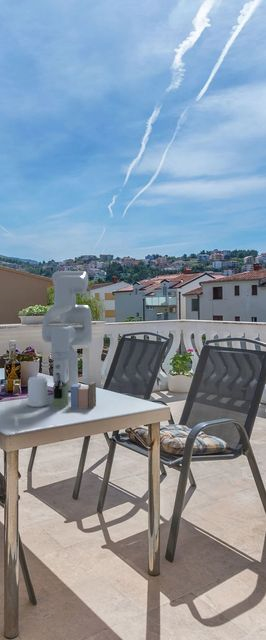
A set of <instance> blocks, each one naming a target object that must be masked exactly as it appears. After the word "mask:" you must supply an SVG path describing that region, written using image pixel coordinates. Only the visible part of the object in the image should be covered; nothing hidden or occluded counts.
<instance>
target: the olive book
mask: <svg viewBox="0 0 266 640" xmlns="http://www.w3.org/2000/svg"><path fill="white" fill-rule="evenodd" d="M59 386H60V384H59ZM61 389H62V398H61V399H55V398H54V385H53V386H52V407H53V409H55V408H56V409H65V408H66V407H68V405H69V391H68V384H62V386H61Z"/></svg>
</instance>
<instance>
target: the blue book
mask: <svg viewBox="0 0 266 640" xmlns="http://www.w3.org/2000/svg"><path fill="white" fill-rule="evenodd" d="M81 386H82V384H81V383H78V384H73V385H72V386H71V391H70V409H79V408H78V389H79V388H80V387H81Z"/></svg>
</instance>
